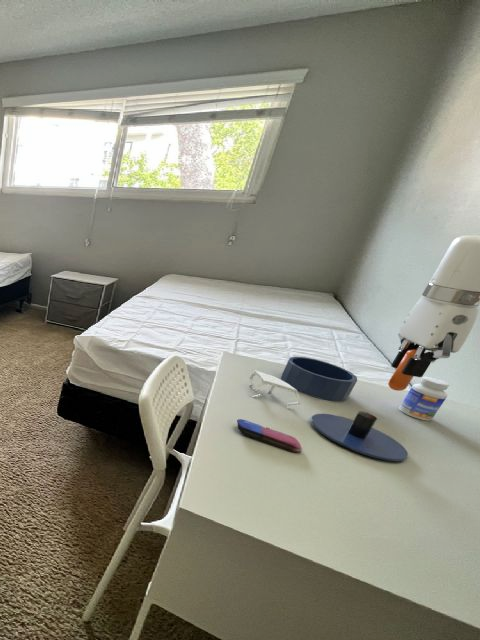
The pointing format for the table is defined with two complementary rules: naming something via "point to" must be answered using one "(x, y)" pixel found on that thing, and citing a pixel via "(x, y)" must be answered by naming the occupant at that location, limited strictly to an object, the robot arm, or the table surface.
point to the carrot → (398, 378)
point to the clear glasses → (273, 385)
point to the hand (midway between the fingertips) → (405, 371)
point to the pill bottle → (424, 398)
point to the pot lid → (359, 435)
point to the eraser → (269, 436)
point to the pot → (319, 378)
